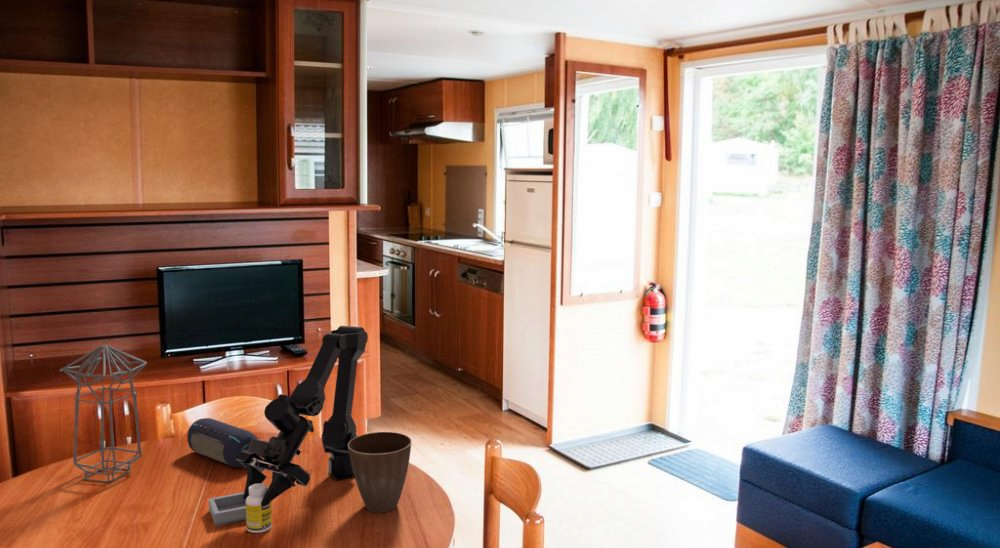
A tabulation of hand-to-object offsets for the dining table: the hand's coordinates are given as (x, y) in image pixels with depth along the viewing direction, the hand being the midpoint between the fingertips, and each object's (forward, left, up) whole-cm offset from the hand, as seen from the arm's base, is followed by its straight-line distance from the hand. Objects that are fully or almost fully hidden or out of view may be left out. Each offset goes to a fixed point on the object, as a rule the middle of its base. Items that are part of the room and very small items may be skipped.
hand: (253, 502), depth 172 cm
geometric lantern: (+27, -50, -7) cm, 57 cm away
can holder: (+3, -11, -7) cm, 13 cm away
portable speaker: (-1, -48, -7) cm, 48 cm away
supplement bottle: (-1, -1, -7) cm, 7 cm away
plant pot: (-29, +1, -7) cm, 30 cm away
